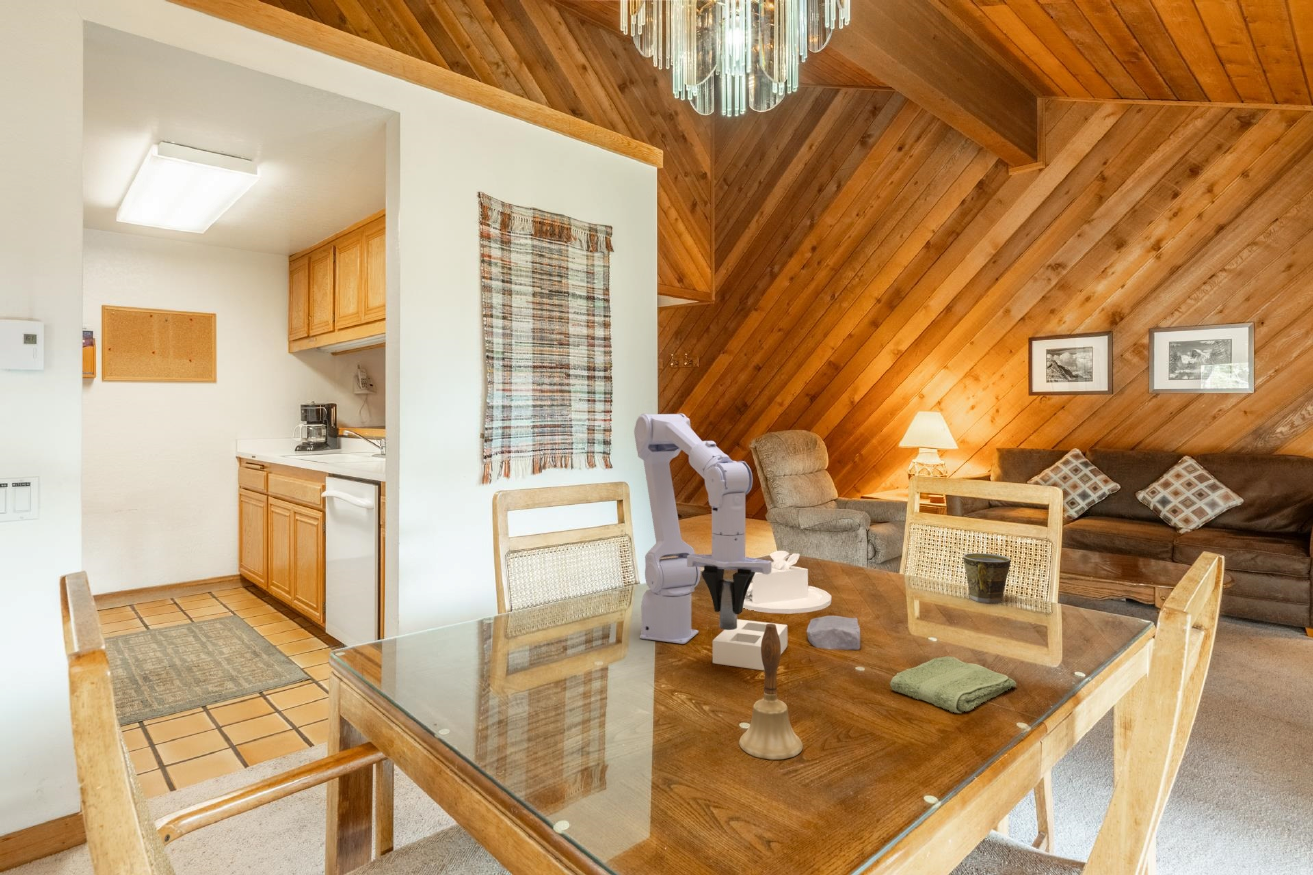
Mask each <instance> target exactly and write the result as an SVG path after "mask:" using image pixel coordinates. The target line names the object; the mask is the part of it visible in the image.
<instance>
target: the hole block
mask: <svg viewBox="0 0 1313 875" xmlns="http://www.w3.org/2000/svg"><path fill="white" fill-rule="evenodd" d="M767 624H775V625H776V629H777V633H778V635H779V639H780V644H781V655H782V654H783V653H784V652H785V650H786V648H787V647H788V625H787V624H782V623H781V624H780V623H773V622H765V621H764V622H763V621H755V620H747V619H741V618H740V619H738V618H737V628H736V629H734V630H724V629H723V630H722V631H721V632H720V633H719V634H718V635H717V636H716V637H714V639H712V664H716V665H723V666H724V665H725V666H731V667H737V668H745V669H751V670H757V671H758V670H759V671H764V672H765V670H764V666H763V662H762V657H761V642H762V638H763V635H764V632H765V629H766V625H767Z"/></svg>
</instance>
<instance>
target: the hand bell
mask: <svg viewBox="0 0 1313 875" xmlns="http://www.w3.org/2000/svg"><path fill="white" fill-rule="evenodd" d="M775 624H776V623H774V624H767V625H766V629H765V632H764V635H763V638H762V642H761V657H762V662H763V666H764V670H765V671H764V670H763V671H764V682H763V684H764V685H763V686H764V687H763V697H762V698H760V699H758V700H756V701H755V702H754V704H753V707H752V716H751V721H750V724H749V726H748V728H747V730H746V731H745V732H743V734H742V735H741V736H740V738H739V740H738V741H739V742H738V743H739V744H738V745H739V747H740V749H742V751H743V752H745V753H746V754H748V755H750V756H752V757H756V758H759V759H767V760H772V761H773V760H774V761H775V760H785V759H789V758H794V757H796V756H797V755H799V754H800V753H801V752H802V751H803V749H804V748H803V747H804V746H803V745H804V744H803V742H802V740H801V738H800V737H799V736H798V735H797V734H796V733H795V731H794V729H793V728H792V725H791V722H790V721H791V720H790V715H789V710H788V706H787V704H786V702H784V701H782V700H780V699H778V694H777V692H778V688H777V687H778V683H777V682H778V679H777V674H778V673H777V672H778V667H779V664H780V661H781V655H782V654H781V644H780V639H779V635H778V633H777V629H776V625H775Z"/></svg>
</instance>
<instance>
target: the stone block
mask: <svg viewBox="0 0 1313 875" xmlns="http://www.w3.org/2000/svg"><path fill="white" fill-rule="evenodd" d="M806 634H807V639H808V641H809V643H810V644H811V645H812V646H813V647H814V648H817V649H825V650H844V651H845V650H846V651H849V650H851V651H859V650H860V649H861V628H860V625H859V624H858V618H857V617H853V618H852V617H845V616H839V615H825V616H821V617H820V616H819V617H816V618H811V619H810V622H809V624H808V625H807V628H806Z"/></svg>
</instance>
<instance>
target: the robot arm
mask: <svg viewBox="0 0 1313 875" xmlns="http://www.w3.org/2000/svg"><path fill="white" fill-rule="evenodd" d="M633 432H634V433H633V434H634V439H635V440H634V441H635V447H636V451H637V457H638V458H639V459H641V460H642V461H643V466H644V473H645V479H646V480H645V481H646V485H647V492H648V498H649V500H648V501H649V505H650V512H651V519H652V524H653V530H654V531H653V532H654V538H655V544H654V545H653V546H652V547H651V548H650V549H649V550H648V551H647V552H646V554H645V556H644V562H645V569H644V579H645V583H646V586H647V587H648V589H647V590H646V591H645V592H644V593H643V596H642V598H641V606H640V608H641V609H640V610H641V611H640V613H641V615H640V617H641V620H640V621H641V622H640V624H641V625H640V626H641V631H640V632H641V634H640V635H639V638H640V639H643V640H652V641H659V642H664V643H665V642H667V643H674V644H681V645H684V644H687V643H688V642H689V641H690V640H691V639H693V637H695V636H696V635H697V634H698V633H699V630H697V629H693V628H692V592H695V587H697V586H698V584H699V583H700V580H701V577H702V578H703V580H704V582H705V584H706V586H707V588H708V590H709V594H710V596H711V600H712V604H713V609H714V612H715V613H720V606H719V581H720V580H721V579H724V574H725V570H726V571H727V570H729V571H737V572H735V573H733V574H732V579H733V581H734V590H735V607H734V609H735V614H737V615H741V613H743V604H744V600H745V596H746V593H747V590H748V588H749V585H750V583H752V579H753V577H754V575H755V573H756V572H758V573H762V574H769V573H771V562H772V560H765V559H760V558H756V557H755V558H754V557H749V556H748V557H747V556H746V495H748V494H749V493H750V491H751V490H752V487H753V484H754V483H753V480H754V479H753V473H752V469H751V468H750V466H749V465H748V464H747V462H746V461H745V460H744V461H743V460H738V461H736V460H732V459H731V457H730V456H729V455H728V454H726V453H724V451H722V450H721V448H719V447H718V446H717V443H716V442H715V441H714V440H702V439H701V437H699V435H697V434H696V432H695V431H694V430H693V428H692V427H691V419H690V418H689V417H687V416H686V414H684V413H681V412H680V413H665V414H664V413H659V414H658V413H657V414H656V413H655V414H654V413H641V414H640V415H639V416H638V418H637V419H636V421H635V426H634V430H633ZM681 451H683V453H685V454H686V455H688V463H689V465H690V466H691V467H692V468H693V469H694V470H695V471H696V472H697V474H699V475H700V477H701V478H703V480H704V486H705V490H706V492H707V495H708V503H709V506H710V507H711V554H698V553H696V552H695V549H694V548H693V547H692V545H689V544H688V543H687V542H685V541H684V540H683V538H682V535H681V529H680V522H679V516H678V511H677V510H678V509H677V505H676V504H677V503H676V497H675V490H674V486H673V485H674V484H673V478H672V473H671V467H670V462H671V461H672V460H673V459H674V458H676V457H678V456H679V454H680V453H681ZM668 557H669V558H668ZM701 568H704V569H703V571H702V572H701Z"/></svg>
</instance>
